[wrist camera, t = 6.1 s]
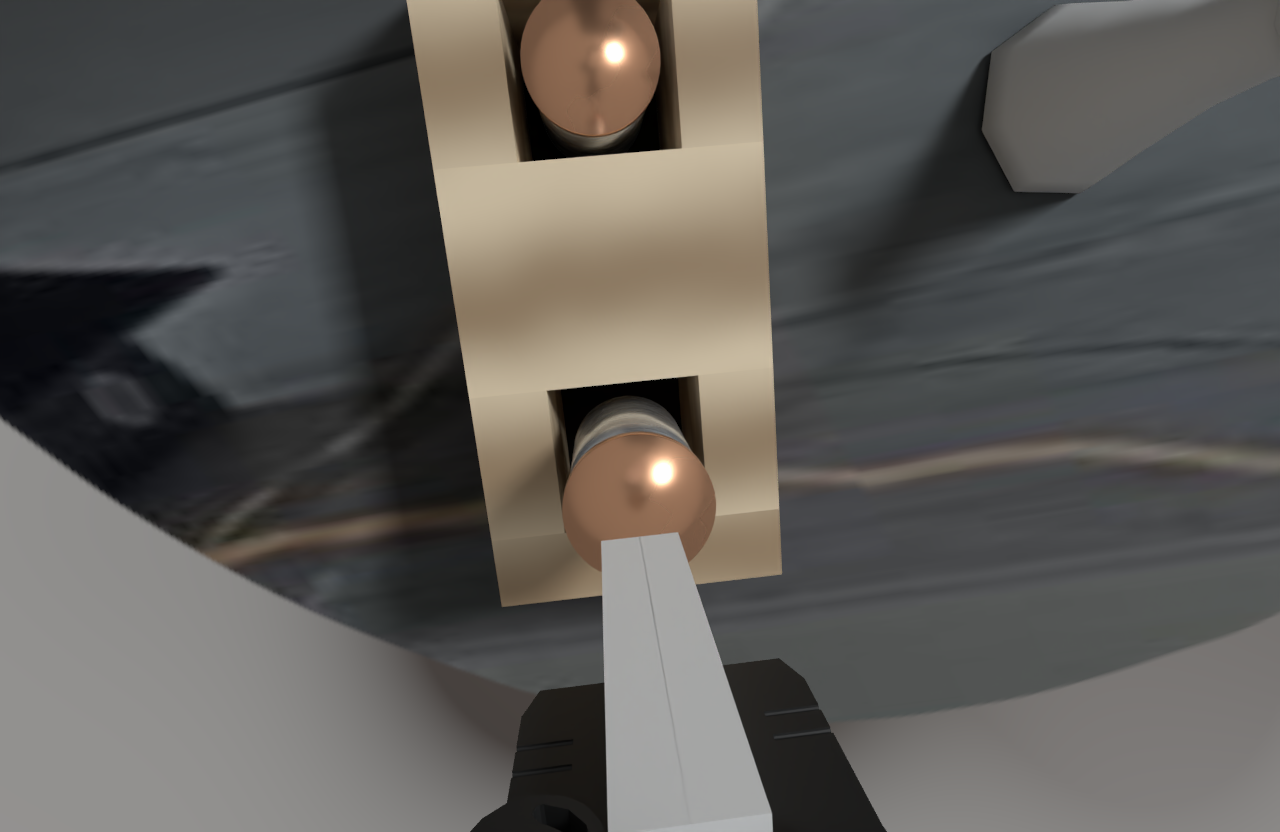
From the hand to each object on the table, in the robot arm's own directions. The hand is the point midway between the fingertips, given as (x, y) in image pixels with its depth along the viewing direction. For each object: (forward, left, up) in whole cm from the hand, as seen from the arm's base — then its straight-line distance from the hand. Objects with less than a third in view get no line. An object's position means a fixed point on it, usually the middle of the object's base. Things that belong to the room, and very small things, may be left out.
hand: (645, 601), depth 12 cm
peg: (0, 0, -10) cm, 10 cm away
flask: (-11, +19, -15) cm, 27 cm away
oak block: (-6, 0, -15) cm, 16 cm away
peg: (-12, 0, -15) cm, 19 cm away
